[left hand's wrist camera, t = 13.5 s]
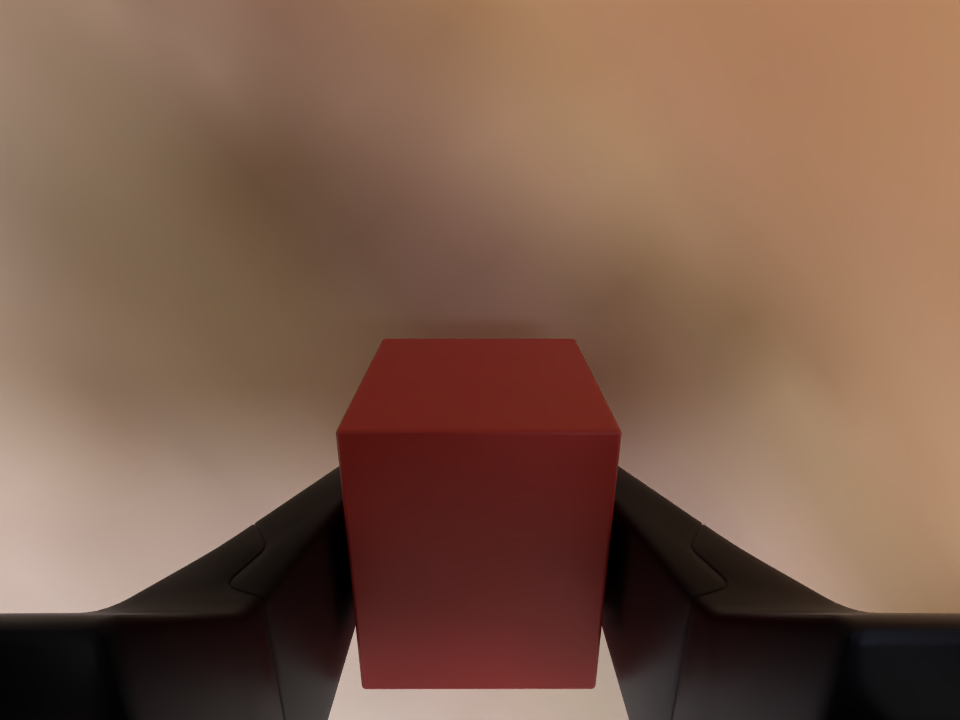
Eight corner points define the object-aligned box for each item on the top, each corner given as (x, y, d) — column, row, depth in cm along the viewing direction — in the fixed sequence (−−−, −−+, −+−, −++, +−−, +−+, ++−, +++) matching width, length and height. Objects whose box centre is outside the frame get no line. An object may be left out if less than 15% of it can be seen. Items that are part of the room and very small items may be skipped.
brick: (562, 534, 13) (596, 691, 9) (395, 535, 13) (360, 690, 9) (574, 337, 12) (623, 431, 8) (382, 337, 12) (334, 430, 8)
